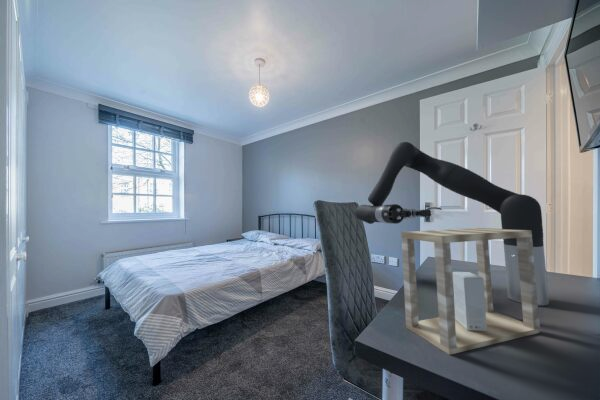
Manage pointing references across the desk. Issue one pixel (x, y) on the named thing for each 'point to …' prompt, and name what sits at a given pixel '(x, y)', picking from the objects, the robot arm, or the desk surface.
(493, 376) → the desk surface
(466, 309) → the skincare box
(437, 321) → the oak counter shelf
